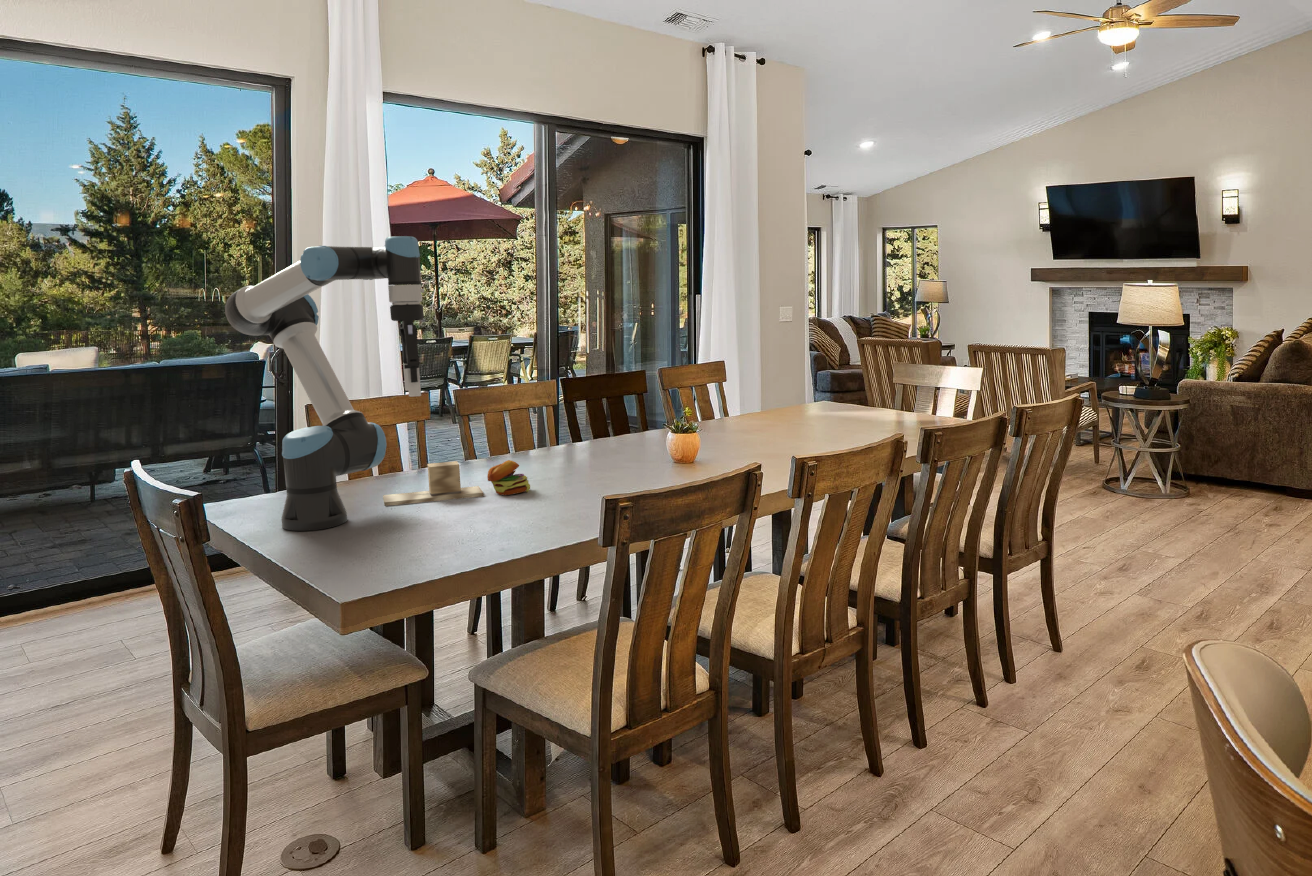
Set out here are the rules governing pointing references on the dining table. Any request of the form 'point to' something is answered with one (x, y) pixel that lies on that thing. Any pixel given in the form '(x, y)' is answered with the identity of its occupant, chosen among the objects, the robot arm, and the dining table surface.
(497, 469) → the cheeseburger
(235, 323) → the robot arm
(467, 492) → the board
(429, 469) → the block
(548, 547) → the dining table surface
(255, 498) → the dining table surface
